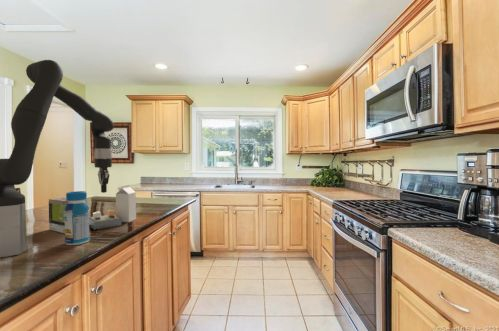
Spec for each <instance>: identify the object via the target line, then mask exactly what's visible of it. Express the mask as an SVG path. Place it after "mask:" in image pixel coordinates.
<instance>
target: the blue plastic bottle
mask: <svg viewBox="0 0 499 331" xmlns="http://www.w3.org/2000/svg"><path fill="white" fill-rule="evenodd" d="M87 196H88V195H87V191H85V190H84V191H83V190H82V191H79V190H78V191H69V192H66V194H65V197H66V200H67V201H68V204H67V205H66V207H65V209H64V212H65V215H64V220H65V233H64V244H65V245H66V246H78V245H83V244H86V243H88V242H89V241H90V226H89V218H90V217H91V216H90V212H89V209H90V207H89V204H88V203H87V201H86V202H85V200H87Z"/></svg>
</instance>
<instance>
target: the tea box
mask: <svg viewBox="0 0 499 331" xmlns="http://www.w3.org/2000/svg"><path fill="white" fill-rule="evenodd" d="M86 200H87V199H86ZM86 200H85V202H86V203H87V201H86ZM67 204H68V201H67V200H66V196H65V197H57V198H55V197H54V198H48V229H49V230H51V231H54V232H57V233H61V234H65V220H64V215H65V212H64V209H65V207H66V205H67Z"/></svg>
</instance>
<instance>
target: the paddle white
mask: <svg viewBox="0 0 499 331" xmlns="http://www.w3.org/2000/svg"><path fill="white" fill-rule="evenodd" d="M100 216H103V215H102V212H101V211H98V210H97V211H95V212H92V217H94V218H96V217H100Z"/></svg>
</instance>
